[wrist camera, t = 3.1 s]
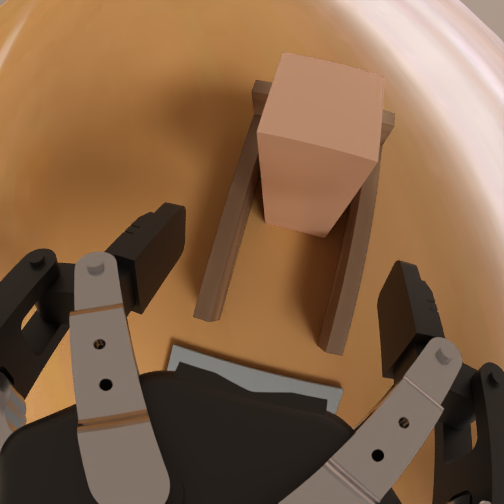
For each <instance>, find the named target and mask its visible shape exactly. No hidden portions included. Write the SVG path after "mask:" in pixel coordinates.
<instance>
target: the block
mask: <svg viewBox="0 0 504 504" xmlns="http://www.w3.org/2000/svg"><path fill="white" fill-rule="evenodd" d="M383 96H384V76H381V75H378V74H374V73H371V72H368V71H364V70H361V69H357V68H354V67H350V66H346V65H342V64H338V63H334V62H330V61H326V60H321V59H317V58H312V57H307V56H302V55H297V54H291V53H285V52H283V53H282V56H281V59H280V62H279V65H278V68H277V71H276V74H275V77H274V80H273V83H272V86H271V89H270V92H269V95H268V98H267V101H266V104H265V107H264V110H263V113H262V117H261V120H260V123H259V126H258V129H257V141H258V151H259V161H260V172H261V182H262V193H263V204H264V215H265V223H266V224H270V225H274V226H279V227H283V228H287V229H291V230H294V231H298V232H302V233H306V234H310V235H314V236H318V237H322V238H325V237H326V236H327V234H328V233H329V231H330V230H331V229H332V227H333V226H334V225H335V223H336V222H337V220H338V219H339V218H340V216H341V215H342V213H343V212H344V210H345V209H346V208H347V206H348V205H349V203H350V202H351V201H352V199H353V198H354V196H355V195H356V193H357V192H358V190H359V189H360V188H361V186H362V185H363V183H364V182H365V180H366V179H367V177H368V176H369V174H370V173H371V171H372V170H373V169H374V167H375V166H376V164H377V163H378V156H379V147H380V137H381V125H382V112H383Z"/></svg>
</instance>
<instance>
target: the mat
mask: <svg viewBox="0 0 504 504" xmlns="http://www.w3.org/2000/svg"><path fill="white" fill-rule="evenodd" d="M179 362H183V363H186V364H189V365H192V366H196V367H199V368H202V369H205V370H208V371H212V372H215V373H217V374H219V375H221V376H222V377H224V378H226V379H228V380H230V381H231V382H233V383H235V384H237V385H239V386H241V387H243V388H245V389H247V390H249V391H252V392H293V393H297V394H302V395H307V396H312V397H317V398H322V399H328V401H327V411H329V412H331V413H333V414H335V413H336V411H337V408H338V405H339V402H340V399H341V396H342V393H343V388H341V387H335V386H330V385H325V384H320V383H316V382H311V381H306V380H302V379H297V378H293V377H289V376H284V375H280V374H276V373H272V372H268V371H264V370H260V369H256V368H253V367H249V366H245V365H242V364H238V363H235V362H231V361H228V360H224V359H221V358H217V357H214V356H211V355H208V354H204V353H201V352H198V351H195V350H192V349H189V348H186V347H183V346H180V345H177V344H174V345H173V348H172V352H171V356H170V360H169V364H168V368H167V371H175V370H176V368H177V366H178V364H179Z"/></svg>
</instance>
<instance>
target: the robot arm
mask: <svg viewBox="0 0 504 504" xmlns="http://www.w3.org/2000/svg"><path fill="white" fill-rule="evenodd" d="M185 221H186V209H185V207H184V206H180V205H176V204H171V203H167V202H165V203H164V204H163V205H162V206H161V207H160V208H159V209H158V210H157V211H156V212H155V213H152V212H149V213H147V214H145V215H143V216H141V217H139V218H138V219H137V220H136V221H135V222H133V223H132V224H131V226H129V227H128V228H127V229H126V230H125V232H123V233H122V234H121V235H120V236H119V237H118V238H117V239H116V240H115V241H114V242H113V243H112V244H111V245H110V247H109V248H108V249H107V250H106V251H105V252H93V253H89V254H87V255H85V256H83V257H82V258H80V259H79V260H78V261H77V263H76V264H71V263H58V262H57V258H56V255H55V253H54V252H53V251H52V250H50V249H37V250H34V251H32V252H30V253H28V254H27V255H26V256H25V257H24V258H23V259H22V260H21V261H20V262H19V263H18V264H17V265H16V266H15V267H14V268H13V269H12V270H11V271H10V272H9V273H8V274H7V275H6V276H5V277H4V278H3V280H2V281H1V282H0V504H402V503H401V502H400V500H399V499H398V497H397V495H396V494H395V492H394V491H393V489H392V488H391V487H392V485H393V484H394V483H395V482H396V480H397V479H398V478H399V477H400V475H401V474H402V473H403V471H404V470H405V469H406V467H407V466H408V465H409V463H410V462H411V460H412V459H413V458H414V456H415V455H416V453H417V452H418V450H419V449H420V447H421V446H422V445H423V443H424V442H425V440H426V438H427V437H428V435H429V434H430V432H431V431H432V429H433V427H434V426H435V469H434V489H433V502H432V504H504V371H503V370H502V369H501V368H500V367H499V366H498V365H496V364H494V363H490V362H488V363H485V364H484V365H483V366H482V367H481V368H480V369H479V370H476V369H474V368H472V367H470V366H468V365H466V364H464V363H462V356H461V354H460V352H459V350H458V348H457V347H456V346H455V345H454V344H453V343H452V342H450V341H449V340H447V339H445V336H444V332H443V328H442V324H441V321H440V317H439V313H438V312H437V307H436V304H435V300H434V297H433V293H432V291H431V289H430V288H429V287H428V285H427V284H426V282H425V281H422V280H421V278H420V275H419V272H418V268H417V266H416V265H414V264H410V263H406V262H403V261H399V260H398V261H396V262H395V264H394V266H393V268H392V270H391V272H390V274H389V276H388V278H387V280H386V282H385V284H384V286H383V288H382V290H381V292H380V294H379V298H378V303H377V309H378V319H379V330H380V342H381V357H382V376H383V377H385V378H391V379H394V385H393V386H392V387H391V388H390V389H389V390H388V391H387V393H386V394H385V395H384V396H383V397H382V398H381V400H380V401H379V402H378V403H377V404H376V405H375V406H374V407H373V409H372V410H371V411H370V412H369V413H368V414H367V415H366V416H365V417H364V418H363V419H362V420H361V422H360V423H359V424H358V425H357V426H356V427H355V428H353V429H352V428H351V427H350V426H349V425H348V424H347V423H346V422H345V421H344V420H342V419H341V418H340V417H338V416H337V415H335V414H333V413H331V412H329V411H327V401H328V399H322V398H317V397H312V396H307V395H302V394H297V393H293V392H252V391H249V390H247V389H245V388H243V387H241V386H239V385H237V384H235V383H233V382H231V381H230V380H228V379H226V378H224V377H222V376H221V375H219V374H217V373H215V372H212V371H208V370H205V369H202V368H199V367H196V366H192V365H189V364H186V363H183V362H179V364H178V366H177V368H176V370H175V371H153V372H148V373H144V374H141V375H140V374H139V370H138V366H137V362H136V358H135V354H134V349H133V345H132V340H131V336H130V331H129V326H128V321H127V316H128V314H129V313H130V312H131V311H133V312H136V313H139V314H142V313H143V312H144V310H145V309H146V307H147V306H148V304H149V303H150V301H151V300H152V298H153V297H154V295H155V294H156V292H157V291H158V289H159V288H160V286H161V285H162V283H163V282H164V280H165V279H166V277H167V276H168V274H169V273H170V271H171V270H172V268H173V267H174V265H175V264H176V262H177V261H178V259H179V258H180V256H181V255H182V252H183V249H184V245H185ZM34 304H35V306H36V308H37V311H36V312H35V313H34V315H33V316H32V317H31V318H30V320H29V321H28V322H27V324H26V325H25V327H24V328H23V329H22V331H21V324H22V321H23V319H24V317H25V316H26V315H27V313H28V312H29V311H30V310H31V308H32V307H33V306H34ZM69 328H70V345H71V360H72V372H73V382H74V391H75V399H76V404H74V405H72V406H70V407H67V408H65V409H63V410H60V411H58V412H56V413H53V414H51V415H49V416H46V417H44V418H41V419H39V420H36V421H34V422H31V423H29V424H26V416H25V414H26V404H25V401H24V400H25V398H26V397H27V395H28V393H29V391H30V390H31V388H32V386H33V385H34V383H35V381H36V380H37V378H38V376H39V375H40V373H41V371H42V370H43V368H44V366H45V365H46V363H47V361H48V360H49V358H50V357H51V355H52V354H53V352H54V350H55V349H56V347H57V346H58V344H59V343H60V341H61V340H62V338H63V337H64V335H65V334H66V332H67V331H68V329H69ZM475 420H476V425H477V437H478V438H477V443H476V445H475V447H474V449H473V450H472V439H471V426H470V424H471V423H472V422H473V421H475ZM25 424H26V425H25Z"/></svg>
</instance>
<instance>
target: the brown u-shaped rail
mask: <svg viewBox="0 0 504 504" xmlns="http://www.w3.org/2000/svg"><path fill="white" fill-rule="evenodd" d="M271 86H272V83H271V82H265V81H259V80H256V81H255V84H254V87H253V89H252V99H253V108H254V116H253V119H252V122H251V125H250V128H249V131H248V134H247V137H246V140H245V143H244V147H243V150H242V153H241V156H240V159H239V162H238V165H237V168H236V171H235V175H234V178H233V181H232V184H231V187H230V191H229V194H228V197H227V200H226V204H225V207H224V210H223V213H222V217H221V220H220V223H219V227H218V230H217V234H216V237H215V240H214V244H213V247H212V251H211V254H210V258H209V261H208V265H207V268H206V272H205V275H204V279H203V282H202V286H201V289H200V293H199V297H198V300H197V304H196V308H195V311H194V315H193V317H194V318H198V319H201V320H204V321H208V322H213V321H217V320H220V316H221V313H222V309H223V305H224V302H225V298H226V294H227V291H228V287H229V284H230V280H231V276H232V273H233V269H234V265H235V262H236V258H237V255H238V251H239V247H240V244H241V240H242V237H243V233H244V230H245V226H246V223H247V219H248V215H249V212H250V208H251V205H252V201H253V198H254V194H255V191H256V187H257V184H258V180H259V177H260V173H261V172H260V161H259V151H258V141H257V129H258V126H259V123H260V120H261V117H262V113H263V110H264V107H265V104H266V101H267V98H268V95H269V92H270V89H271ZM394 120H395V114H394V113H391V112H388V111H385V110H383V112H382V125H381V137H380V147H379V156H378V163H377V164H376V166H375V167H374V169H373V170H372V171H371V173H370V174H369V176H368V177H367V179H366V180H365V182H364V183H363V185H362V186H361V188H360V189H359V190H358V192H357V193H356V195H355V196H354V198H353V199H352V201H351V202H350V205H349V210H348V215H347V221H346V226H345V231H344V236H343V241H342V246H341V250H340V255H339V260H338V264H337V269H336V273H335V277H334V282H333V286H332V290H331V294H330V299H329V303H328V307H327V311H326V314H325V318H324V322H323V326H322V330H321V333H320V337H319V341H318V344H317V346H319V347H320V348H321V349H322V350H324V351H325V352H327V353H332V354H336V355H341V356H342V355H343V352H344V348H345V344H346V341H347V337H348V333H349V329H350V325H351V321H352V317H353V313H354V309H355V305H356V301H357V297H358V292H359V288H360V283H361V279H362V274H363V269H364V264H365V259H366V254H367V249H368V243H369V238H370V232H371V226H372V220H373V214H374V207H375V201H376V194H377V186H378V178H379V170H380V162H381V152H382V145H383V144H384V142H385V140H386V139H387V137H388V136H389V134H390V132H391V131H392V129H393V127H394Z"/></svg>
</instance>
